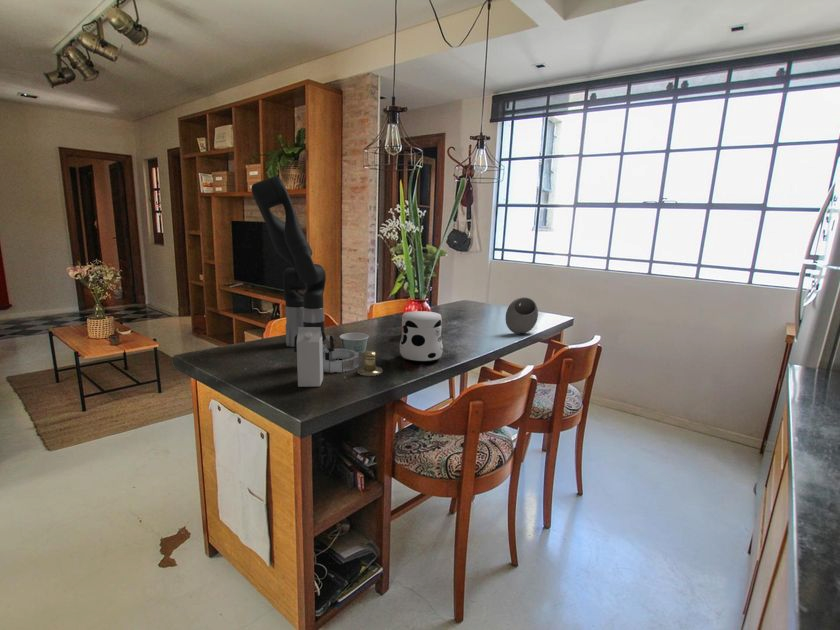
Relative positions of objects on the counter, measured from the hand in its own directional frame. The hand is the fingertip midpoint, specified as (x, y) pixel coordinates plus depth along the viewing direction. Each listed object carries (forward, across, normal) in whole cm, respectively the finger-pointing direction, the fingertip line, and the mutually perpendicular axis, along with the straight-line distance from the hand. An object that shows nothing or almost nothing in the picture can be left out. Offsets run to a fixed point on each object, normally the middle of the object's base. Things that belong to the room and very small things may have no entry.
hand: (314, 362), depth 159 cm
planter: (+1, +98, +43) cm, 107 cm away
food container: (+2, +15, +18) cm, 24 cm away
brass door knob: (+1, +20, -8) cm, 22 cm away
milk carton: (+2, 0, -18) cm, 18 cm away
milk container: (+2, +41, +6) cm, 41 cm away
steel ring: (+1, +8, 0) cm, 8 cm away
